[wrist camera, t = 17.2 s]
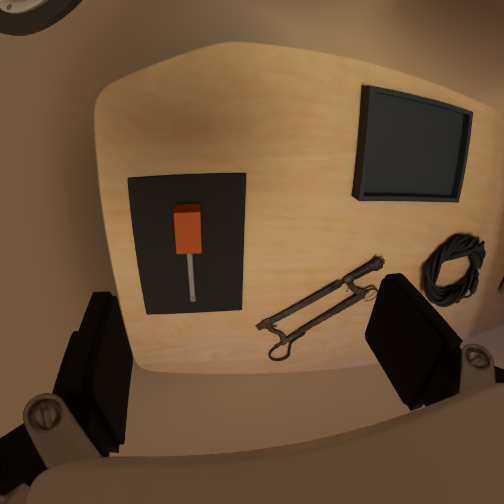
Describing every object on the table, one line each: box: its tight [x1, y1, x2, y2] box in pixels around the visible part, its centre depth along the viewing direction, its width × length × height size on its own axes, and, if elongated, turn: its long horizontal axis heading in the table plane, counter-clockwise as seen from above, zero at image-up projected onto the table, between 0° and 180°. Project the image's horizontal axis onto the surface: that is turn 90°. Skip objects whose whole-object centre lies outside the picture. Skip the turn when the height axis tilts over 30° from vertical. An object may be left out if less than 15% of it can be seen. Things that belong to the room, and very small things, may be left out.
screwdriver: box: [174, 203, 202, 301], centre depth 39 cm, size 13×3×3 cm, turn 178°
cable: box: [424, 235, 486, 307], centre depth 49 cm, size 17×14×4 cm
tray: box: [352, 86, 473, 203], centre depth 37 cm, size 19×15×2 cm
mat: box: [128, 173, 246, 315], centre depth 40 cm, size 20×14×1 cm
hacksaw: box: [256, 257, 385, 361], centre depth 49 cm, size 24×10×2 cm, turn 119°
